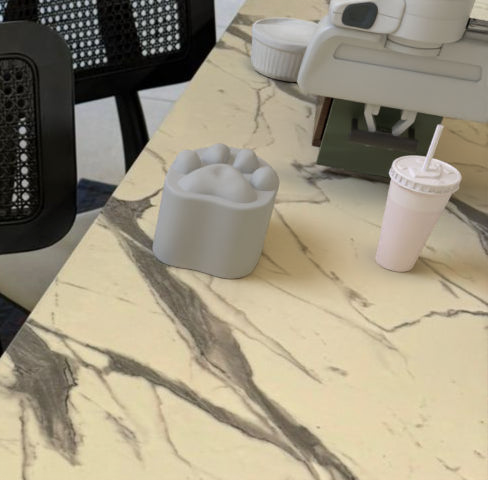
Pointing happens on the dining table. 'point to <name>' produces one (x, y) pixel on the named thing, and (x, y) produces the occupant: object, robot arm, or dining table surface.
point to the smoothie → (414, 206)
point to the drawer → (371, 138)
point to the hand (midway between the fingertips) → (378, 145)
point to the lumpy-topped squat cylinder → (215, 211)
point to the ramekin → (280, 46)
